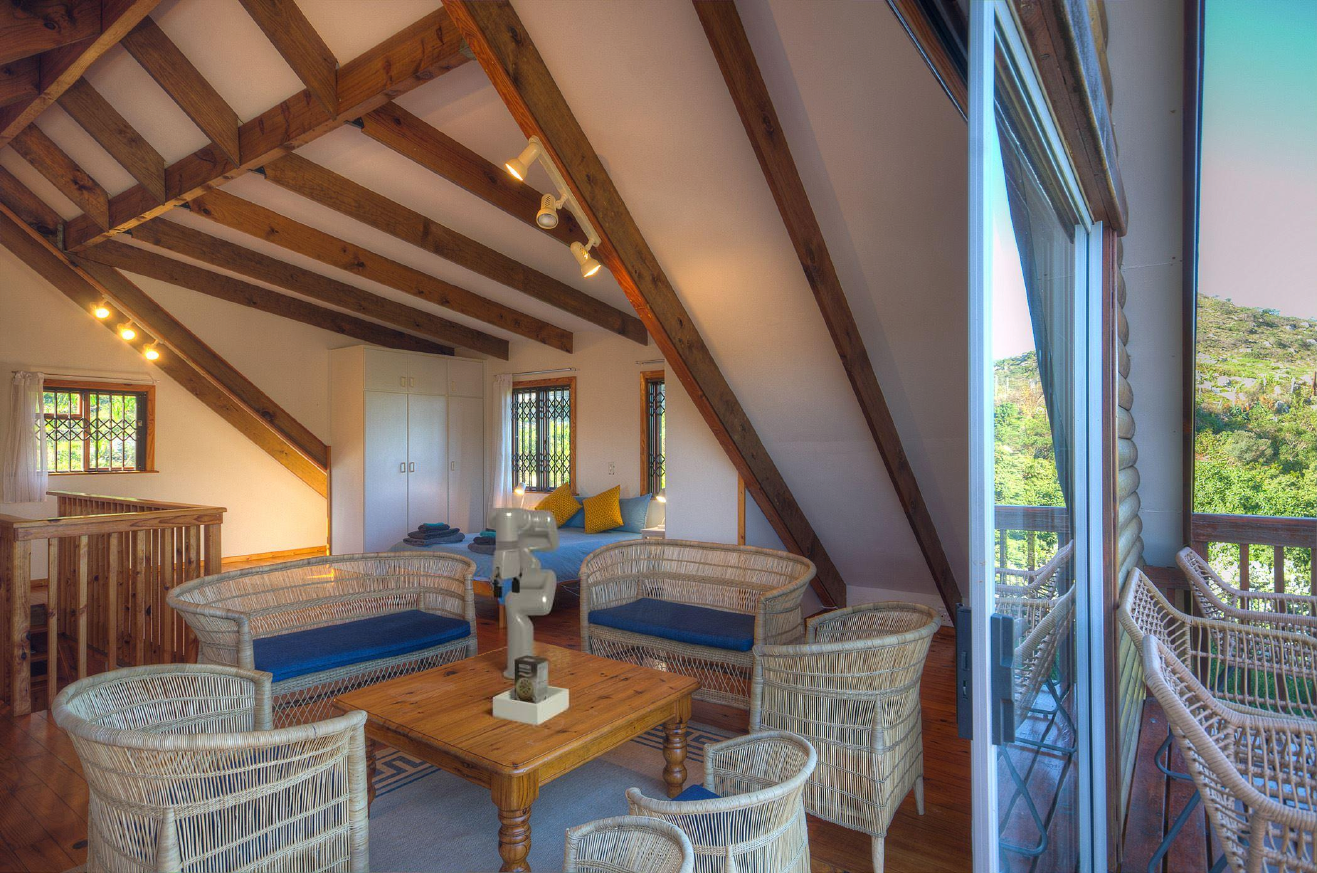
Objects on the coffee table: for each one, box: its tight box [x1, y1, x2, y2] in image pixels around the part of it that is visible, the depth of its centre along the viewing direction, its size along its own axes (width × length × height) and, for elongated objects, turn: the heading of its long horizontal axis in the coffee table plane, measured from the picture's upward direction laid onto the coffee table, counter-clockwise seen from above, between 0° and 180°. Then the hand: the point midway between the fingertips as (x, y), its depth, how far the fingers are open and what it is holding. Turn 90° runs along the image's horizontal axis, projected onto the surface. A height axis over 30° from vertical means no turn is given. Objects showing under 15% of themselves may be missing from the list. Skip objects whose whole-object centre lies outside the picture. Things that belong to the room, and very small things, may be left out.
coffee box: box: [514, 655, 549, 704], centre depth 235 cm, size 9×6×16 cm
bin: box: [492, 685, 570, 726], centre depth 234 cm, size 17×17×6 cm
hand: (507, 595), depth 256 cm, fingers open, 9 cm apart
